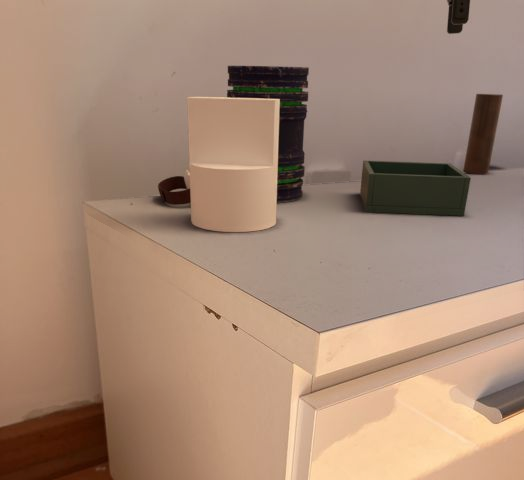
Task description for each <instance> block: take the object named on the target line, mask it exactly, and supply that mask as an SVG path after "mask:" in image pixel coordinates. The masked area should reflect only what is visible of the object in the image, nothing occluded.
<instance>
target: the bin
mask: <svg viewBox="0 0 524 480" xmlns="http://www.w3.org/2000/svg"><path fill="white" fill-rule="evenodd" d="M361 169H362V170H361V180H360V190H359V194H360V197H361V200H362V204H363V207H364V210H365V212H366V213H381V214H405V215H429V216H451V217H452V216H455V217H465V212H466V207H467V203H468V195H469V189H470V185H471V180H472V179H471V178H472V177H470V176H469V175H468V174H467V173H465V172H463V170H461V169H459V168H458V167H456V166H455V165H453V164H452V163H447V162H446V163H445V162H421V161H419V162H418V161H390V160H365V159H364V160H362V168H361Z"/></svg>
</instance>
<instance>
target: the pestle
mask: <svg viewBox="0 0 524 480" xmlns="http://www.w3.org/2000/svg"><path fill="white" fill-rule="evenodd" d="M503 97H504V95H503V94H502V93H501V94H500V93H476V95H475V100H474V105H473V111H472V117H471V123H470V129H469V135H468V141H467V146H466V153H465V158H464V164H463V170H462V172H463V173H465V174H471V175H488V174H489V171H490V165H491V161H492V156H493V155H492V154H493V151H494V145H495V139H496V134H497V129H498V124H499V119H500V112H501V106H502V103H503Z"/></svg>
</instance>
